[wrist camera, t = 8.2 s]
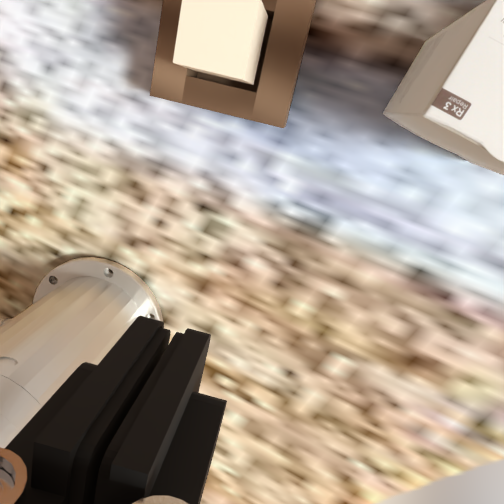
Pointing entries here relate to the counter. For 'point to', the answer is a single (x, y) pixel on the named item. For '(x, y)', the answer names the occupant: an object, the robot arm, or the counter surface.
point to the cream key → (221, 37)
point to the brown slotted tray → (230, 91)
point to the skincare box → (459, 88)
